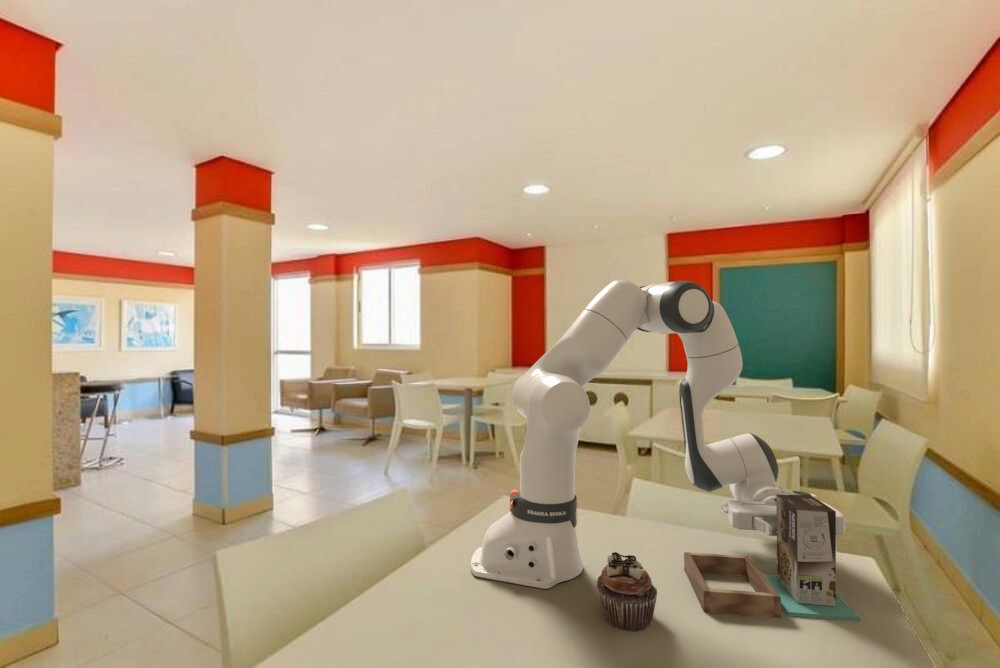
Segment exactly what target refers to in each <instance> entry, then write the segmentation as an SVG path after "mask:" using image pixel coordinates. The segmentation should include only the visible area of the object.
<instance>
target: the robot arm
mask: <svg viewBox="0 0 1000 668" xmlns="http://www.w3.org/2000/svg"><path fill="white" fill-rule="evenodd" d="M637 330H638V331H641V332H645V333H651V332H652V333H658V334H662V335H664V334H667V335H668V334H669V335H670V334H677V335H678V337H679V338H680V340H681V342H682V344H683V349H684V352H685V356H686V361H687V368H686V370H687V371H686V375H685V377H684V379H683V380H681V382H680V383H679V392H678V393H679V394H678V395H679V406H680V408H679V409H680V418H681V425H682V426H681V427H682V435H683V436H682V437H683V444H684V468H685V472H686V475H687V477H688V479H689V481H690V483H691V484H692V486H694V487H696V488H698V489H699V490H703V491H705V492H707V493H710V492H713V491H714V492H715V491H717V490H719V489H721V488H724V487H726V486H729V490H730V492H731V494H732V496H733V498H734V499H732V500H729V501H728V502H727V503H726V504H721V505H720V509H721V511H722V512H723V513H724V514H727V518H728V522H729V525H731V527H733V528H735V529H737V530H741V531H742V530H743V531H744V530H746V531H759V532H762V533H765V534H766V535H767V536H769V537H777V507H776V495H810V496H812V497H814V498H816V499H817V500H819V497H818V495H816V494H815V493H810V492H805V491H798V490H793V489H789V488H786V487H784V486H778V485H777V484H776V482H777V480H778V478H779V477H778V476H779V473H780V472H779V471H780V470H779V465H778V462H777V458H776V456H775V454H774V451H773V450H772V448H771V447H770V445H769V444H768V443H767V442H766V441H765V440H763V439H762V438H761V437H759V436H757V434H753V433H751V432H747V433H743V434H740V435H736V436H732V437H728V438H726V439H721V440H717V441H715V442H711V443H707V444H706V440H705V432H704V423H703V413H704V411H705V409H706V407H707V406H708V405H709V404H710V402H711V401H713V400H714V399H715V398H716V397H718V396H719V395H720V394H722V393H723V392H724V391H726V390H727V389H728V388H730V387H731V386H732V385H733V384H734V383H735V382H736V381H737V380H738V379H739V377H740V375H741V372H742V371H743V356H742V352H741V347H740V344H739V341H738V338H737V336H736V332H735V330H734V327H733V325H732V323H731V320H730V318H729V316H728V314H727V313H726V310H725V308H724V307H723V306H722V305H721V304H720V303H719V302H717V301H714V300H712V298H711V296H710V295H709V293H708V291H707V290H706V289H705V288H704V287H703V286H702V285H700V284H699V283H695V282H694V281H688V280H677V281H667V282H665V281H663V282H657V283H652V284H649V285H642V286H639V285H637V284H636V283H634V282H633V281H629V280H626V279H615V280H613V281H612V282H610V283H609V284H608V285H606V286H605V287H604V288H603V289H601V291H600V292H598V293H597V295H595V297H593V299H591V301H590V302H589V303H588V304H587V305H586V306H585V307H584V309H583V310H582V311H581V312H580V314H579V315H578V316H577V318H576V319H574V321H573V323H572V324H571V325H570V327H568V329H567V330H566V331H565V332H564V334H563V335H562V336H561V337H560V338H559V340H558V341H557V342H556V343H555V344H554V345H553V346H551V348H549V349H548V350H547V351H546V352H544V354H543V355H542V356H541V357H540V358H539V359H537V361H536V362H535V363H533V365H532V366H531V367H530V368H529V369H528V370H527V371H526V372H525V373H523V374H522V375H521V376H520V377H518V379H517V380H516V381H515V382H514V384H513V387H512V390H511V391H512V392H511V396H512V402H513V405H514V406H515V409H516V411H517V412H518V413H519V414H520V415H521V416H522V417H523V418H525V420H526V434H525V437H524V438H525V439H524V444H523V448H522V451H521V453H520V456H519V490H518V489H512V490H511V491H510V494H509V512H507V513H505V514H504V515H503V516H502V517H501V518H499V519H498V520H496V521H495V522H493V523H492V524H491V525H490V526H489V528H488V529H487V530H486V532H485V535H484V537H483V541H482V545H479V547H478V548H476V549H475V551H474V552H473V554H472V556H471V558H470V559H471V560H470V571H471V573H472V575H474V576H475V577H478V578H482V579H488V580H494V581H500V582H505V583H511V584H517V585H520V586H521V585H522V586H526V587H527V586H528V587H533V588H538V589H543V590H544V589H550V588H553V587H554V586H555V585H557V584H559V583H563V582H565V581H569V580H572V579H574V578H577V577H578V576H579V575H581V573H583V570H584V565H583V562H582V558H581V555H580V550H579V545H578V538H577V537H578V534H577V525H578V524H577V523H578V502H577V501H578V498H577V495H576V493H575V492H576V491H575V488H576V487H575V485H576V484H575V482H576V480H575V478H576V477H575V475H576V474H575V473H576V472H575V471H576V468H575V467H576V455H577V448H578V444H579V439H580V435H581V430H582V427H583V425H584V424H585V423H586V422H587V420H588V417H589V416H590V412H591V411H590V410H591V403H590V398H589V396H588V394H587V391H586V390H585V388H584V387H585V386H586V384H588V383H589V382H590V381H593V379H595V378H596V377H598V376H599V375H601V374H602V373H604V372H605V371H606V369H608V368H607V367H609V365H610V364H611V363H612V361H613V360H614V359H615V358H616V356H617V355H618V354H619V352H620V351H621V349H622V348H623V347H624V345H625V344H627V342H628V341H629V339H630V338H631V336H632V335H633V333H634V332H635V331H637ZM819 501H820V502H822V503H823V504H825V505H826V506H828V507H830V508H831V509H833V510H834V511H836V536H837V535H838V536H843V535H844V534H845V533H846V518H845V515H844V514H843V513H842V512H841V511H839V510H838V509H836V508H835V507H834V506H831V505H830V504H829V503H827V502H824V501H822V500H819Z"/></svg>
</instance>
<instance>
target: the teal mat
mask: <svg viewBox="0 0 1000 668" xmlns="http://www.w3.org/2000/svg"><path fill="white" fill-rule="evenodd" d="M763 575H764V576H765V578H766V579H767V580H768V582H769V583H770V584H771V585H772V587H773V588H774V589H775V590H776V592H777V593H778V594H779V595H780V597H781V609H782V610H783V611H784V612H785V614H786V615H787V616H788V617H790V616H791V617H800V618H801V617H802V618H814V619H826V620H827V619H828V620H838V621H839V620H840V621H852V622H862V617H860V615H858V613H857V612H855V611H854V609H853V608H852V607H850V606H849V604H847V602H845V601H844V600H843V599H842V597H840V596H839V595H838V593H836V606H824V605H814V604H803V603H797V602H796V600H795V599H794V598H793V597H792V596H791V594H790V593H789V592H788V591H787V590H786V588H785V587H784V586H783V585H782V584H781V583H780V581H779V580H778V579H777V575H776V574H775V575H774V574H773V575H772V574H763Z"/></svg>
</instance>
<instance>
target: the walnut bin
mask: <svg viewBox="0 0 1000 668" xmlns="http://www.w3.org/2000/svg"><path fill="white" fill-rule="evenodd" d="M683 570H684V572H685V574H686V577H687V579H688V581H689V584H690V585H691V587H692V590H693V592H694V594H695V596H696V598H697V600H698V602H699V604H700V607H701V608H702V610H703V612H705V613H712V614H713V613H715V614H726V615H727V614H728V615H740V616H749V617H751V616H752V617H762V618H763V617H764V618H775V619H782V617H781V615H782V613H781V611H782V607H781V597H780V595H779V594H778V593H777V592H776V590H775V589H774V588H773V587H772V585H771V584H770V583H769V582H768V580H767V579H766V578H765V576H764V575H765V574H764V573H762V572H761V570H760V568H759V567H758V566H757V565H756V563H754V561H753V560H752V559H751V558H750V556H749V555H732V554H721V553H720V554H719V553H718V554H717V553H703V552H701V553H700V552H688V551H685V552H683ZM702 574H705V575H720V576H733V577H734V576H735V577H744V578H745V579H746V580H747V581H748V583H749V585H750V586H751V587H752V589H753V590H754V591H748V590H735V589H734V590H733V589H723V588H720V589H719V588H709V586H708V584H707V582H706V581H705V579H704V577H703V575H702Z"/></svg>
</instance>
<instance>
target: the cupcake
mask: <svg viewBox="0 0 1000 668" xmlns="http://www.w3.org/2000/svg"><path fill="white" fill-rule="evenodd" d="M622 558H625V559H622ZM606 562H607V564H606V565H605V566H603V569H602V570H601V574H600V575H599V576H598V577H597V581H596V589H597V592H598V597H599V600H600V605H601V610H602V615H603V619H604V620H605V622H606V621H607V624H608V625H610V626H612V627H613V628H616V629H618V630H622V631H628V632H639V631H643V630H645V629H647V628H649V627H650V626H651V624H652V622H653V618H654V612H655V610H656V609H655V608H656V603H657V596H658V590H657V588H656V586H655V585H654V584H653V582H652V578H651V576H650V574H649V573H648V571H647V570H646V569H645V568H644V567H643V566H642V563H641V562H639V561H638V560H637V557H636V556H635V555H629V554H628V555H623V554H620V553H619V552H615V551H614V552H611V553H610V554H609V555H608V556H607V559H606Z"/></svg>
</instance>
